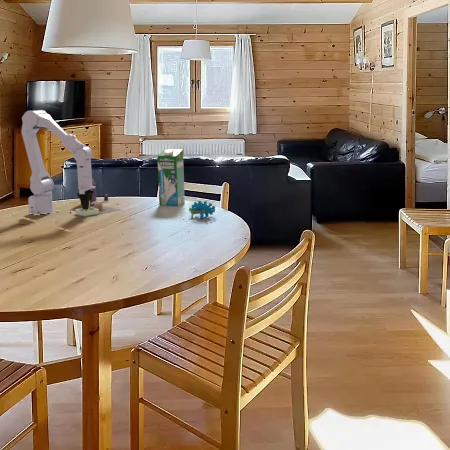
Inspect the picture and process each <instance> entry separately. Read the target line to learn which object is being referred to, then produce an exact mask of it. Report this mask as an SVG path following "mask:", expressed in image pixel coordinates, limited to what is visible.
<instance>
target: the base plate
mask: <svg viewBox="0 0 450 450" xmlns="http://www.w3.org/2000/svg"><path fill="white" fill-rule="evenodd" d="M96 201H97V200H96ZM96 201H93V202H96ZM91 207H92V208H96V209H99V214H98V215H104V214H110V213H115V212H121V211H123V209H119V208H114V207H110V206H106V205H103V204H97V205H93V206H91ZM98 215H97V216H98ZM93 216H94V217H95V215H92V216H91V217H93ZM87 217H88V218H89V217H90V216H86V217H85V218H87Z"/></svg>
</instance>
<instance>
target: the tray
mask: <svg viewBox="0 0 450 450" xmlns="http://www.w3.org/2000/svg"><path fill="white" fill-rule="evenodd" d="M74 210H75V213H76V216H79V217H84V218H87V217H86V216H89V217H93V216H92V215H94V216H98V214H99V209H96V208H92V207H90V210H89V211H84V209H83V207H81V208H75V209H74Z"/></svg>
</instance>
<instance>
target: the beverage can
mask: <svg viewBox="0 0 450 450" xmlns="http://www.w3.org/2000/svg"><path fill="white" fill-rule="evenodd" d="M96 185H97V184H96V181H95V179H94V178H92V186H95V188H93V189H90V190H94V193H93V196H92V201H91V202H93V201H97V190H96ZM80 205H81V206H82V204H81V203H80Z"/></svg>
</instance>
